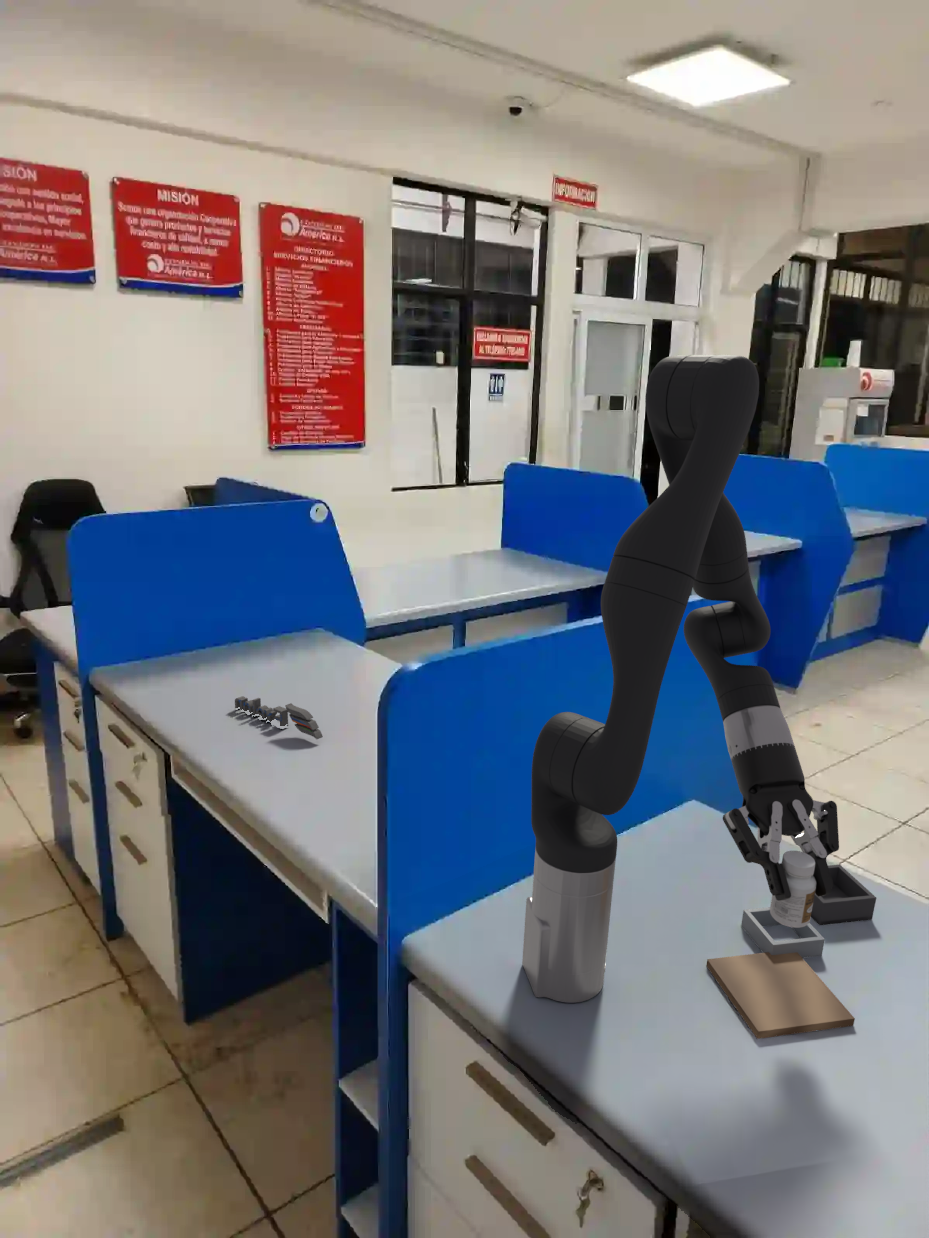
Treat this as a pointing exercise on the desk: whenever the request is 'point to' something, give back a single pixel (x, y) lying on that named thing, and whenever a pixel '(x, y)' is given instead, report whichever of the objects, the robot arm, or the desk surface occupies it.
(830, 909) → the box
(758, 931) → the sleeve
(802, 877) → the pill bottle
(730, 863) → the desk surface
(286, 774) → the desk surface
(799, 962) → the walnut pad
